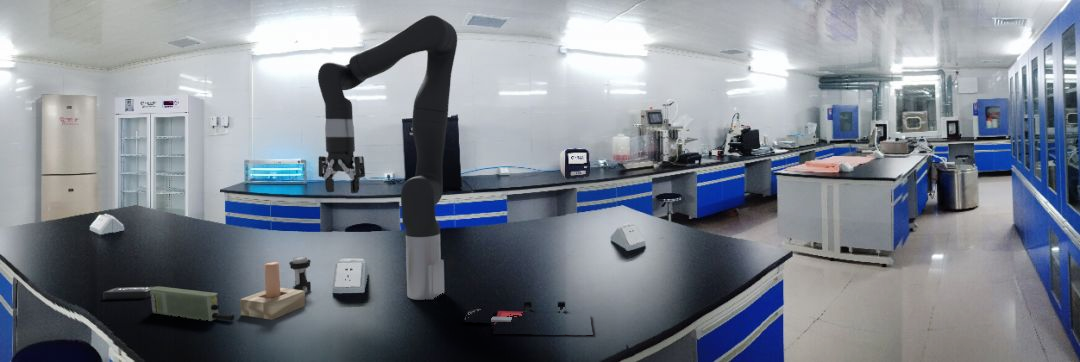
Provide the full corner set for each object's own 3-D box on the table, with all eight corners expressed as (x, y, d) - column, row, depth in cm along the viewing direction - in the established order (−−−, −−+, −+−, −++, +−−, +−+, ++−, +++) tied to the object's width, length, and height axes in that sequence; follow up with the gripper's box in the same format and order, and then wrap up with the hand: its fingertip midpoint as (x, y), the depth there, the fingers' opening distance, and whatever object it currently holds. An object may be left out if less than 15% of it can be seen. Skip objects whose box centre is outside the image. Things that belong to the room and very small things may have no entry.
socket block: (305, 305, 120) (304, 290, 120) (272, 319, 111) (271, 303, 110) (275, 301, 123) (275, 286, 123) (241, 314, 114) (240, 299, 114)
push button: (300, 298, 126) (298, 262, 125) (283, 297, 127) (281, 261, 126) (316, 290, 132) (314, 256, 132) (299, 289, 133) (297, 255, 132)
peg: (284, 308, 118) (281, 262, 117) (273, 313, 115) (271, 266, 114) (274, 307, 119) (272, 261, 118) (263, 311, 116) (261, 265, 115)
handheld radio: (164, 309, 118) (239, 320, 111) (150, 315, 115) (226, 326, 108) (161, 284, 118) (236, 293, 110) (147, 289, 114) (224, 298, 107)
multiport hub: (145, 299, 126) (144, 291, 126) (102, 300, 125) (102, 292, 125) (157, 294, 130) (157, 286, 130) (116, 295, 130) (115, 287, 130)
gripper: (369, 135, 132) (371, 192, 133) (329, 135, 136) (332, 190, 138) (351, 135, 125) (353, 194, 126) (309, 135, 129) (312, 193, 131)
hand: (342, 192), depth 132 cm, fingers open, 8 cm apart
